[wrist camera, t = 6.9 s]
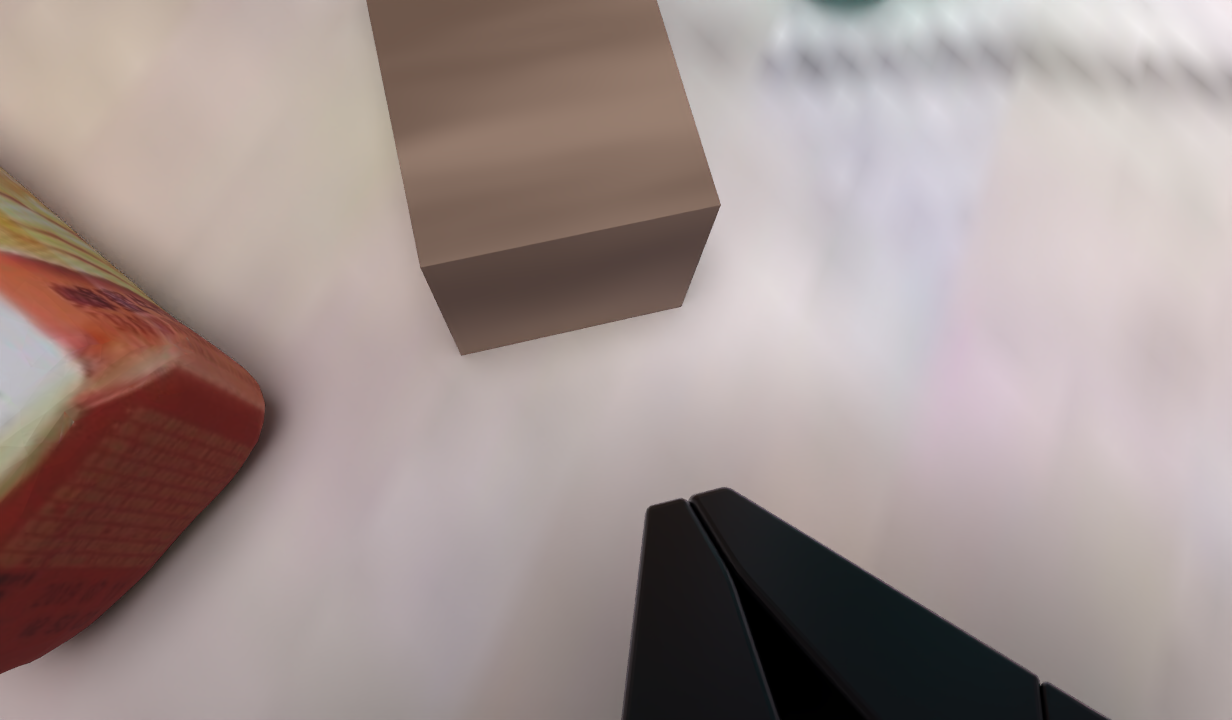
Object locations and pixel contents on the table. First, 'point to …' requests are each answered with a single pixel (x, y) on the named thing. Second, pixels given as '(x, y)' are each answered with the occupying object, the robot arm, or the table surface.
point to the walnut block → (544, 161)
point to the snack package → (97, 429)
